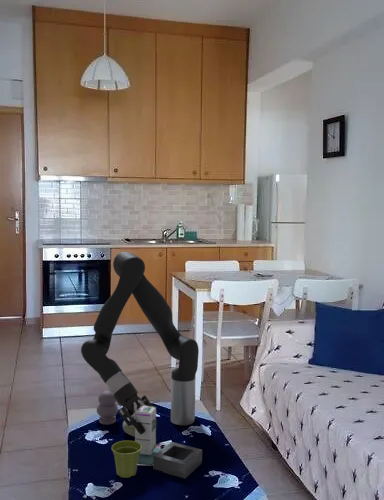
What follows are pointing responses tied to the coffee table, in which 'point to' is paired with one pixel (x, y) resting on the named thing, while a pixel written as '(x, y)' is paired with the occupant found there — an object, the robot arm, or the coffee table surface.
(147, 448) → the syrup box
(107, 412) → the cat figurine
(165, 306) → the robot arm
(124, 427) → the air freshener
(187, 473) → the collar
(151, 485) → the coffee table surface
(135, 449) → the plant pot
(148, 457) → the mat
